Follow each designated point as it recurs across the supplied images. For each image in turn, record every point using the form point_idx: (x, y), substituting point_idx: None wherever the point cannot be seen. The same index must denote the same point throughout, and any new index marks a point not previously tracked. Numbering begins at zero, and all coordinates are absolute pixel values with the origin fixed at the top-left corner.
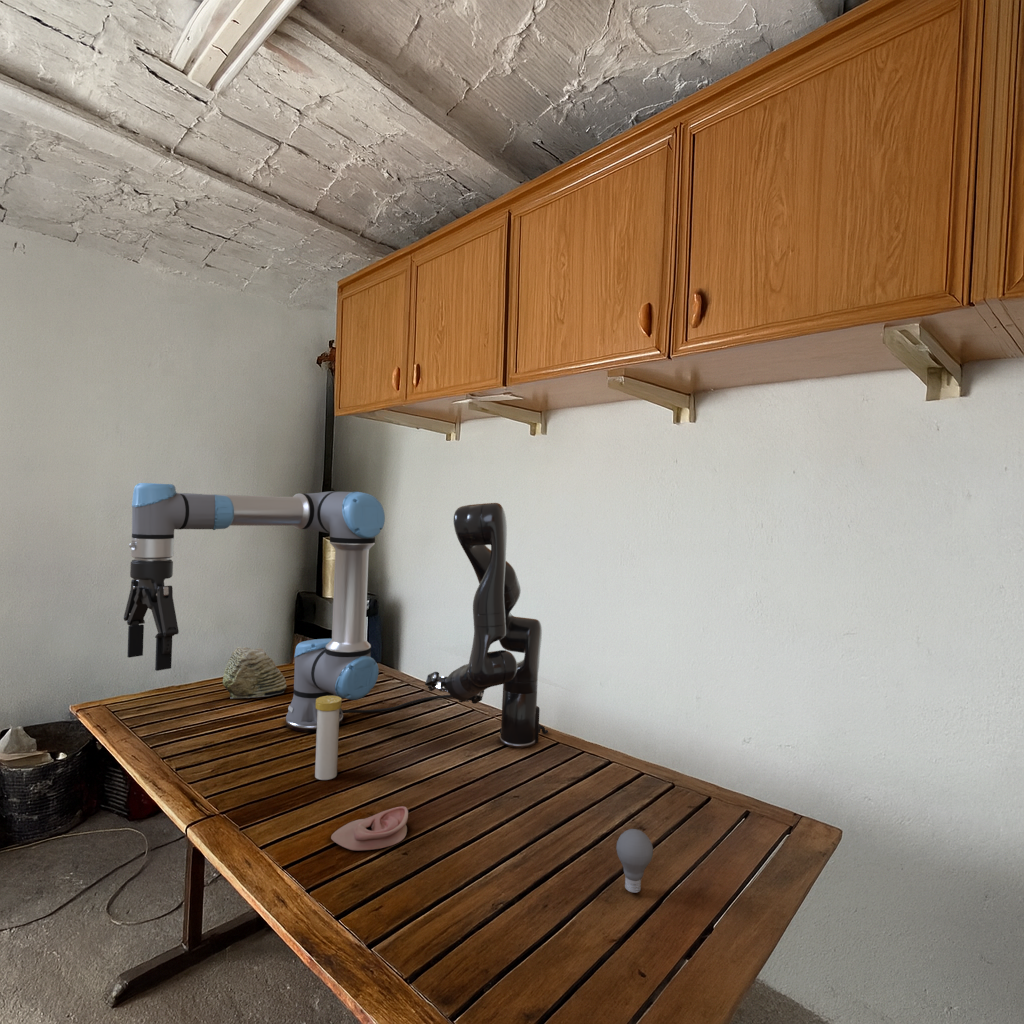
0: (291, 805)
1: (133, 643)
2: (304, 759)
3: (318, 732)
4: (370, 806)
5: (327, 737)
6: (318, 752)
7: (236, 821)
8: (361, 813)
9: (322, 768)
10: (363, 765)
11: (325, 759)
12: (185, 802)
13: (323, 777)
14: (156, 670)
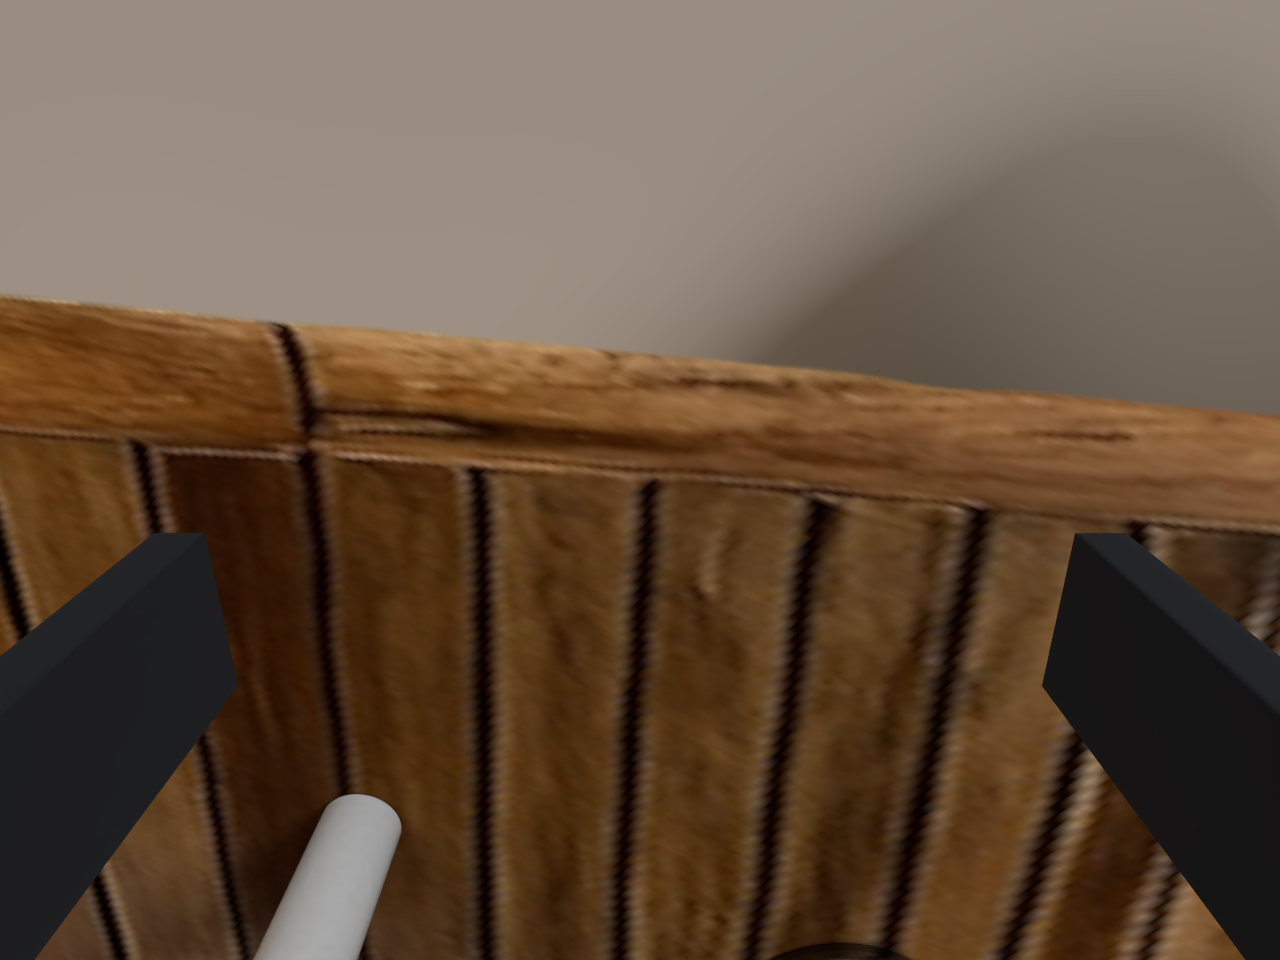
0: None
1: (1179, 697)
2: (543, 844)
3: (287, 950)
4: None
5: (258, 949)
6: (315, 875)
7: (206, 461)
8: None
9: (318, 832)
10: None
11: (298, 866)
12: (488, 400)
13: (328, 809)
14: (162, 534)
